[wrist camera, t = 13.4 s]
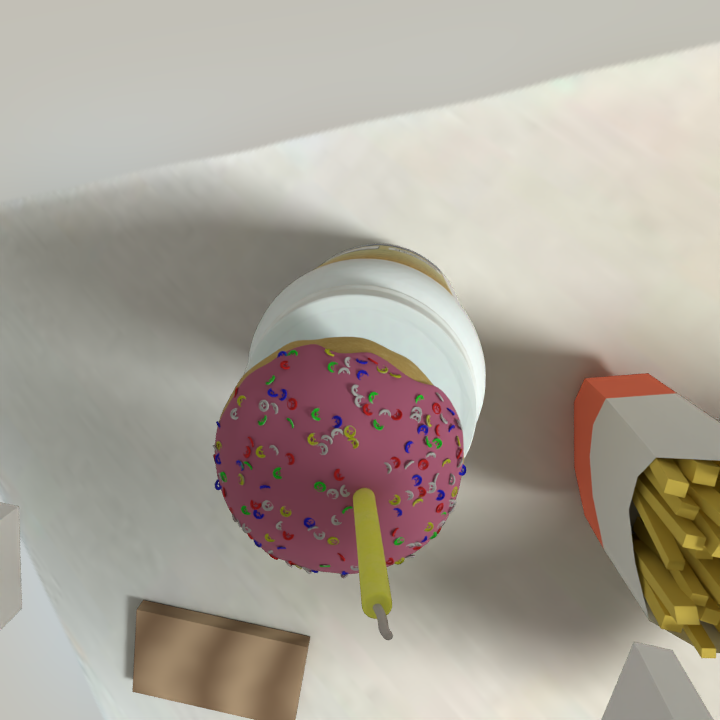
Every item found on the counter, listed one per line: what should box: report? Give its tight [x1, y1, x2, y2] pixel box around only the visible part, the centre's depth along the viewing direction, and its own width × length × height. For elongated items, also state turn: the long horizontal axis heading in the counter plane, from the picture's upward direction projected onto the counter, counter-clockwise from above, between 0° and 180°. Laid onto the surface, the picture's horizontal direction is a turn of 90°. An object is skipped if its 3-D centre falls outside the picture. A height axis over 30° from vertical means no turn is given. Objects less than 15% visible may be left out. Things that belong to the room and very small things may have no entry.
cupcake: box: [213, 337, 466, 640], centre depth 16 cm, size 9×8×12 cm
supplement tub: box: [244, 244, 486, 458], centre depth 30 cm, size 12×12×17 cm
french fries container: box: [574, 373, 720, 658], centre depth 30 cm, size 5×11×18 cm, turn 7°
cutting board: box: [133, 600, 310, 720], centre depth 48 cm, size 16×10×1 cm, turn 80°
